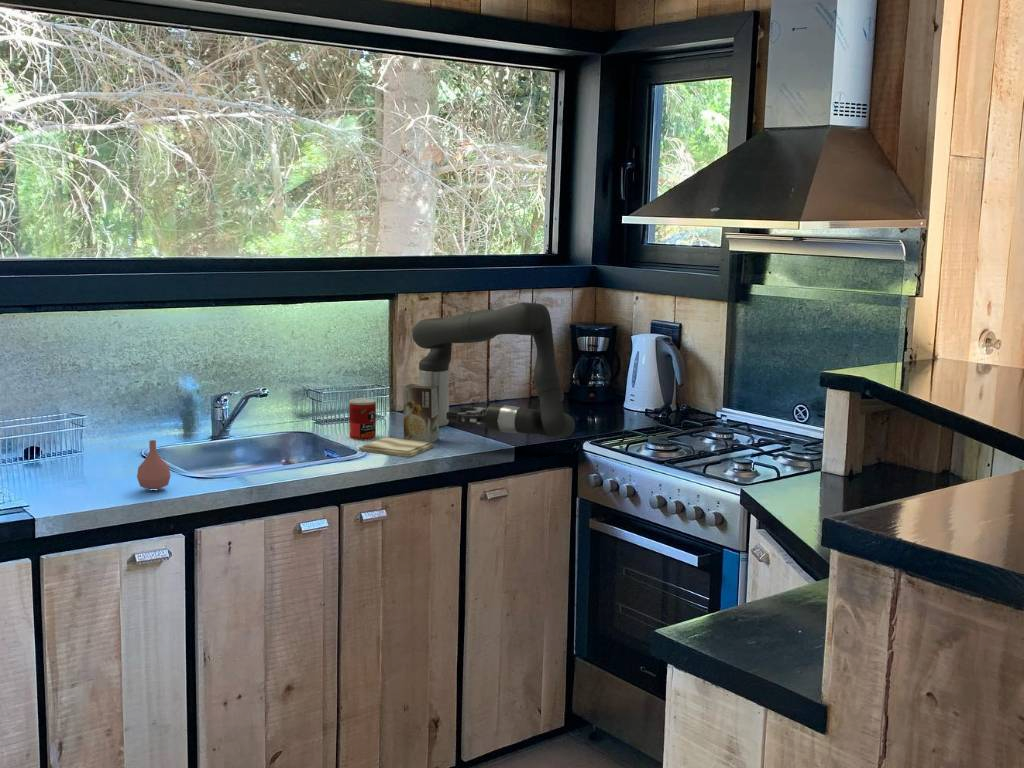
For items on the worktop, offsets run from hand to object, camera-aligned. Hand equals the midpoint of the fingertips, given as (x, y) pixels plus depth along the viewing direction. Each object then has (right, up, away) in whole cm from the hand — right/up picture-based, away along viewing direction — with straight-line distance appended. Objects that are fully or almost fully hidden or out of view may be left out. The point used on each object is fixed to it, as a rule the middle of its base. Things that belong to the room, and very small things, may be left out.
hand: (454, 413), depth 322 cm
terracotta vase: (-69, -17, -54) cm, 89 cm away
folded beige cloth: (-16, -10, -7) cm, 20 cm away
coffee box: (-10, -8, +6) cm, 14 cm away
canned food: (-27, -7, +8) cm, 30 cm away
